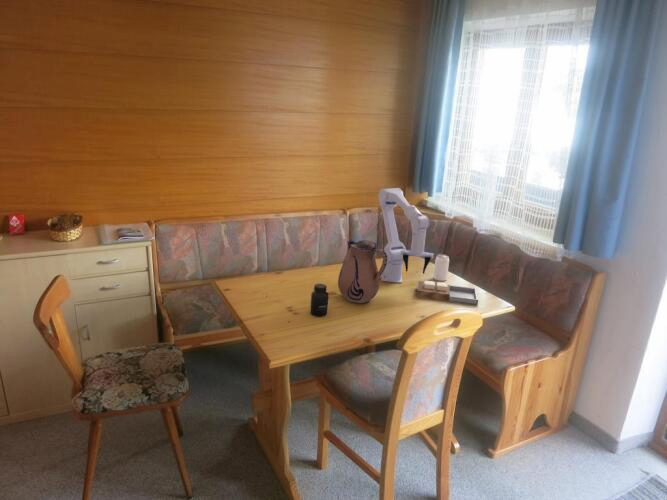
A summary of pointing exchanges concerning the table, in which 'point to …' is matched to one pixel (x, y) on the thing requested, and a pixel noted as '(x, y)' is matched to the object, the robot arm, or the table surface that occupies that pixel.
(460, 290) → the tray
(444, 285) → the tile
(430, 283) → the tile
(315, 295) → the supplement bottle
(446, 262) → the can
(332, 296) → the table surface
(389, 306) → the table surface
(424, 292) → the brown board
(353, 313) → the table surface
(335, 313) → the table surface
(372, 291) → the ceramic pitcher
